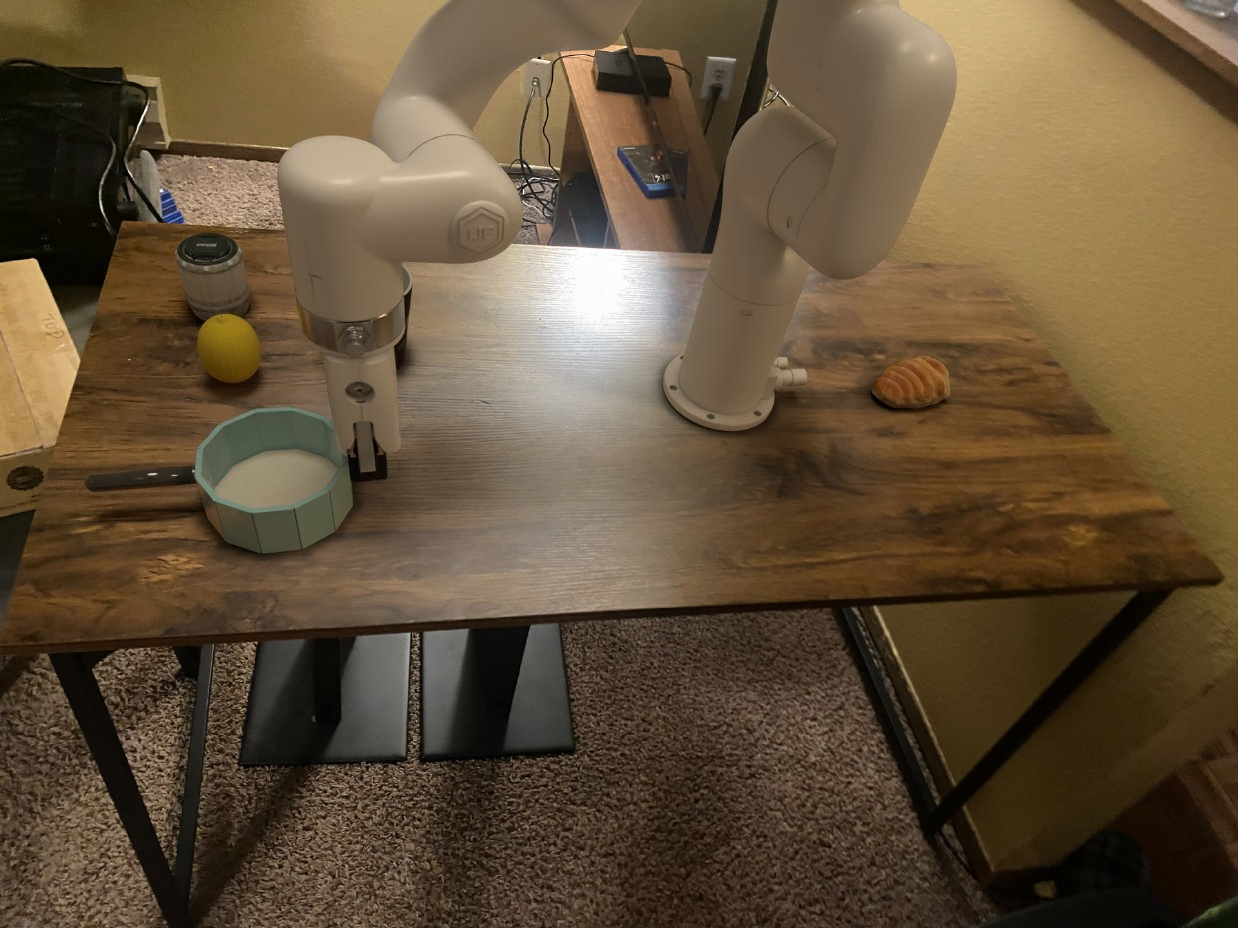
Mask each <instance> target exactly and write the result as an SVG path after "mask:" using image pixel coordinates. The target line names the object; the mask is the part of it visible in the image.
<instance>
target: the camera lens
mask: <svg viewBox="0 0 1238 928" xmlns="http://www.w3.org/2000/svg"><path fill="white" fill-rule="evenodd" d="M174 259H175V261H176V265H177V269H178V273H179V278H180V281H181V284H182V288H183V291H184V295H185V298H186V300H187V303H188V305H189V307H190V309H191V310H192V312H193V313H194V315H195V316H196V317H197V318H198V319H200V320H202V321H205V322H206V321H207V320H208V319H210V318H211V317H213V316H216V315H220V314H231V315H235V316H238V317H240V318H242V317H243V316H245V315H246V313H247V312H248V311H249V308H250V301H251V296H250V295H251V294H250V285H249V281H248V277H247V272H246V267H245V266H246V265H245V262H244V257H243V251H242V247H241V246H240V244H238V242H237V241H235V240H234V239H233V238H232V237H229V236H227V235H225V234H221V233H214V232H205V233H197V234H193V235H191V236H188V237H187V238H185V239H183V240H182V241H181V242H180V243H179V244H178V245H177V247H176V249H175V252H174Z"/></svg>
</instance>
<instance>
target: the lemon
mask: <svg viewBox="0 0 1238 928" xmlns="http://www.w3.org/2000/svg"><path fill="white" fill-rule="evenodd" d="M196 347H197V354H198V357H199V360H200V363H201V364H202V367H203V368H204V369H205V371H206V372H207V373H208V374H209V375H210V376H211V377H213V378H214V379H217V380H218V381H220V382H223V383H228V384H237V383H241V382H244V381H246V380H248V379H250V378H251V377H253V375H255V373H256V372H257V371H258V369H259V368H260V364H261V360H262V347H261V344H260V339H259V337H258V335H257V333H256V331H255V330H254V329H253V327H252V325H251V324H250V323H249V322H248V321H246V320H245V319H244V318H242V317H238V316H235V315H231V314H220V315H216V316H213V317H211V318H210V319H208V320H207V321H205V322H204V323H202V325H201V327H200V329H199V330H198V334H197V343H196Z"/></svg>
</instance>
